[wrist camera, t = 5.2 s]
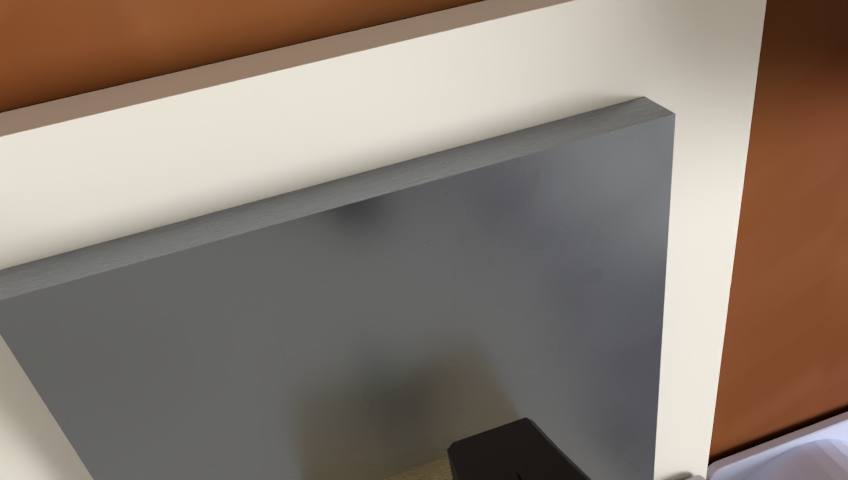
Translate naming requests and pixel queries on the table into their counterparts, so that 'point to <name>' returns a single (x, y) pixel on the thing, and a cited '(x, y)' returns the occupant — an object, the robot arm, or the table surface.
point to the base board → (398, 156)
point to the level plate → (372, 316)
